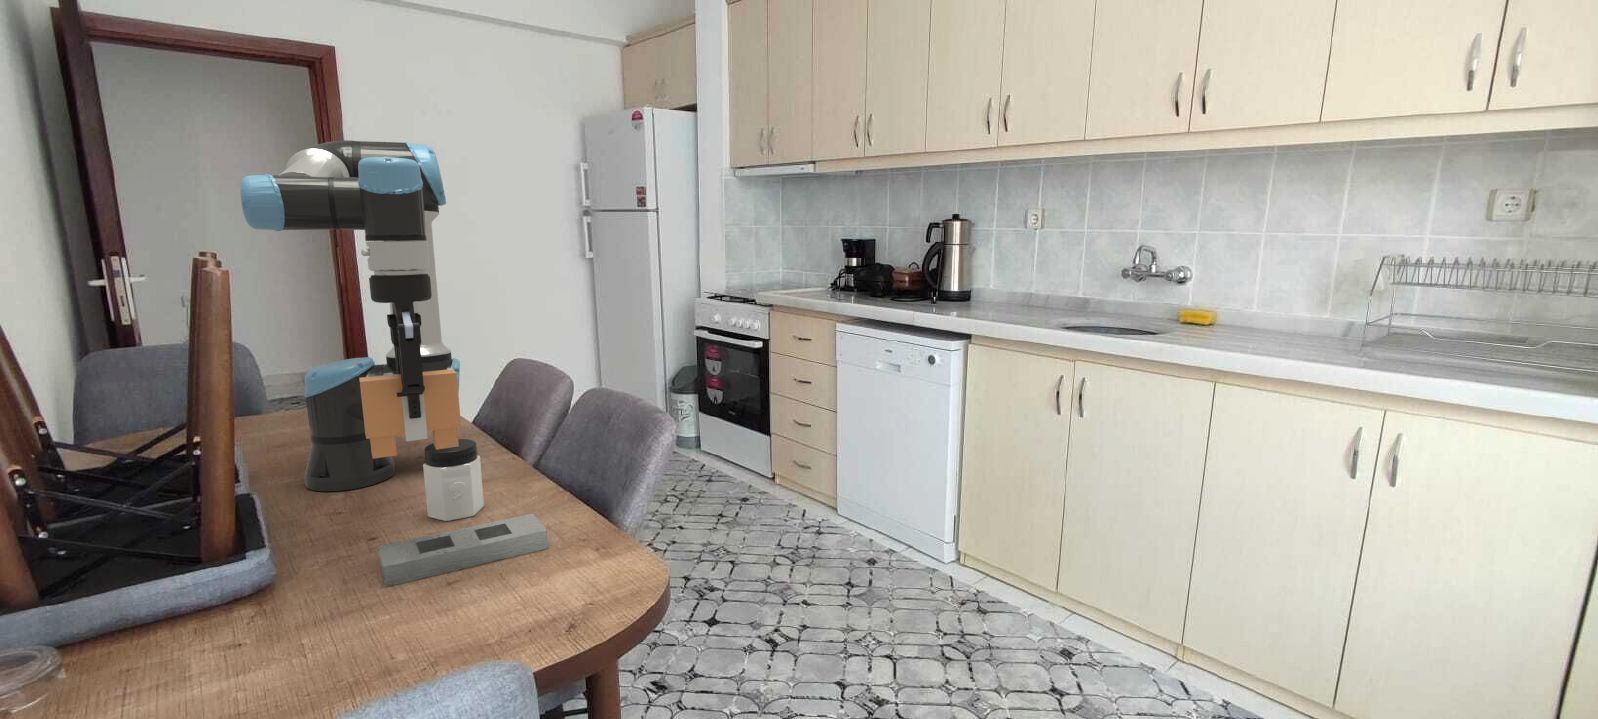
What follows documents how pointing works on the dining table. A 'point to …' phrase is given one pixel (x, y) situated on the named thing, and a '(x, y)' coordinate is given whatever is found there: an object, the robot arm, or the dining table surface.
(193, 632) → the dining table surface
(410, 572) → the grey slotted block
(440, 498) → the jar
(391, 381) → the tan notched block
